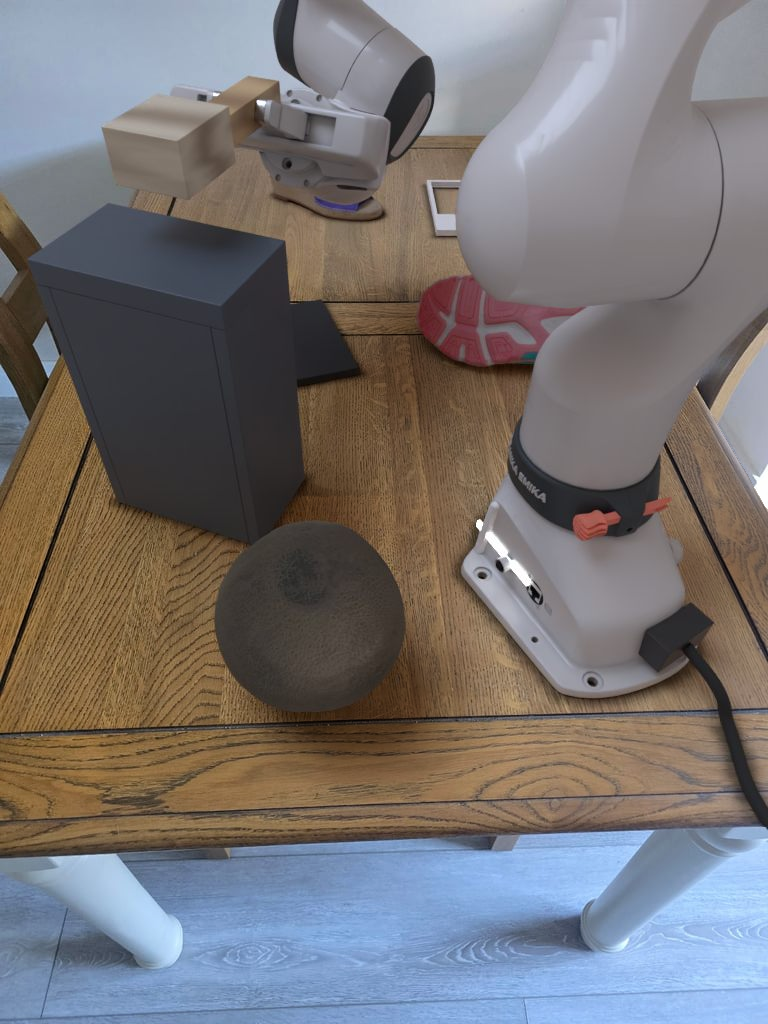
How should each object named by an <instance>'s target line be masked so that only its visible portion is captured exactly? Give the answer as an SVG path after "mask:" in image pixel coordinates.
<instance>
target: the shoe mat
mask: <svg viewBox="0 0 768 1024" xmlns="http://www.w3.org/2000/svg"><path fill="white" fill-rule="evenodd" d="M290 304H291V317H292V329H293V341H294V354H295V366H296V379H297V387H300V386H306V385H311V384H315V383H321V382H326V381H330V380H332V381H333V380H336V379H342V378H348V377H352V376H356V375H357V376H358V375H359V369H360V368H359V366H358V364H357V362H356V361H355V359H354V357H353V354H352V353H351V351H350V350H349V347H348V346H347V343H346V342H345V340H344V338H343V337H342V334H341V332H340V330H339V329H338V327H337V325H336V324H335V321H334V320H333V318H332V316H331V314H330V313H329V311H328V308H327V307H326V305H325V303H324V301H323V299H322V298H319V299H314V300H308V301H301V302H296V303H290Z"/></svg>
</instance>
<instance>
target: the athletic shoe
mask: <svg viewBox="0 0 768 1024" xmlns="http://www.w3.org/2000/svg"><path fill="white" fill-rule="evenodd" d="M587 307H588V306H587ZM585 308H586V307H578V308H568V309H564V308H553V307H542V306H532V305H524V304H517V303H510V302H503V301H497V300H495V299H493V298H492V297H491V296H489V295H488V294H487V293H486V292H485V291H484V290H483V289H482V288H481V287H480V285H479V284H478V283H477V282H476V280H475V279H474V278H473V276H472V274H463V275H461V274H460V275H458V274H457V275H451V276H448V277H444V278H439V279H437V280H436V281H435V282H434V283H432V284H431V285H429V286H428V287H426V289H425V290H424V291H423V293H422V294H421V296H420V299H419V303H418V308H417V310H416V313H415V321H414V322H415V325H416V326H417V327H418V329H419V330H420V332H421V334H422V335H423V336H424V337H425V339H427V340H428V341H429V342H430V343H431V344H432V345H433V346H434V347H435V348H437V349H438V350H439V351H440V352H441V353H442V354H444V355H445V356H446V357H448V358H449V359H451V360H453V361H456V362H463V363H465V364H466V365H469V366H473V367H479V368H481V367H482V368H483V367H490V366H493V365H504V364H524V365H526V364H528V365H534V364H535V360H536V357H537V355H538V352H539V350H540V349H541V347H542V345H543V344H544V342H545V341H546V339H547V338H548V337H549V335H550V334H551V333H552V332H553V331H554V330H555V329H556V328H557V327H558V326H559V325H561V324H562V323H563V322H565V321H566V320H567V319H569V318H570V317H572V316H573V315H575V314H577V313H578V312H580V311H581V310H583V309H585Z"/></svg>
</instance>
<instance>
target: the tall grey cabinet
mask: <svg viewBox="0 0 768 1024" xmlns="http://www.w3.org/2000/svg"><path fill="white" fill-rule="evenodd" d="M26 261H27V263H28V267H29V269H30V273H31V274H32V277H33V280H34V283H35V285H36V288H37V290H38V293H39V296H40V299H41V301H42V304H43V306H44V309H45V312H46V314H47V317H48V320H49V323H50V325H51V328H52V330H53V333H54V335H55V339H56V341H57V344H58V347H59V349H60V352H61V356H62V358H63V360H64V363H65V365H66V368H67V371H68V374H69V376H70V379H71V381H72V385H73V387H74V390H75V392H76V395H77V397H78V401H79V403H80V405H81V408H82V411H83V414H84V416H85V419H86V421H87V422H86V423H87V424H88V427H89V430H90V432H91V435H92V438H93V440H94V443H95V446H96V448H97V450H98V454H99V456H100V459H101V461H102V465H103V468H104V470H105V473H106V475H107V478H108V481H109V484H110V486H111V488H112V491H113V494H114V496H115V499H116V502H117V503H120V504H123V505H126V506H129V507H133V508H135V509H139V510H142V511H145V512H148V513H151V514H155V515H157V516H160V517H164V518H166V519H170V520H174V521H177V522H180V523H182V524H185V525H189V526H192V527H195V528H198V529H202V530H205V531H207V532H211V533H214V534H217V535H220V536H223V537H227V538H230V539H232V540H236V541H239V542H242V543H246V544H248V545H249V544H250V546H252V545H253V544H255V543H256V542H257V541H258V540H259V539H261V538H262V537H264V536H266V535H267V534H269V533H270V532H271V531H273V530H274V527H275V526H276V524H277V523H278V522H279V520H280V518H281V516H282V515H283V513H284V512H285V510H286V509H287V507H288V505H289V504H290V502H291V500H292V499H293V497H294V496H295V495H296V493H297V491H298V490H299V488H300V487H301V486H302V484H303V482H304V480H305V478H306V477H305V466H304V454H303V441H302V430H301V416H300V405H299V393H298V392H299V391H298V386H297V379H296V366H295V354H294V341H293V329H292V317H291V304H292V303H291V293H290V292H291V291H290V282H289V281H290V280H289V269H288V268H289V267H288V255H287V244H286V240H284V239H281V238H276V237H275V238H274V237H270V236H267V235H261V234H258V233H257V234H256V233H253V232H252V233H251V232H246V231H242V230H237V229H232V228H227V227H223V226H219V225H214V224H210V223H205V222H200V221H195V220H190V219H186V218H181V217H177V216H172V215H167V214H162V213H159V212H158V213H157V212H153V211H148V210H144V209H139V208H134V207H129V206H125V205H120V204H115V203H111V202H108V203H106V204H105V205H103V206H102V207H100V208H99V209H97V210H96V211H94V212H93V213H92V214H90V215H89V216H87V217H85V218H84V219H83V220H81V221H80V222H79V223H77V224H75V225H74V226H73V227H71V228H70V229H68V230H67V231H65V232H64V233H63V234H61V235H60V236H58V237H57V238H56V239H54V240H52V241H51V242H49V243H48V244H47V245H45V246H43V248H41V249H39V250H37V252H35V253H34V254H32V255H30V257H28V258H27V259H26Z"/></svg>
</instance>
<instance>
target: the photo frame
mask: <svg viewBox="0 0 768 1024" xmlns="http://www.w3.org/2000/svg"><path fill="white" fill-rule="evenodd" d="M461 180H462V179H426V185H425V186H426V190H427V195H428V200H429V206H430V212H431V215H432V221H433V226H434V231H435V236H436V237H457V233H456V217H455V213H438V209H437V203H436V200H435V194H434V190H433V188H459V186H460V183H461Z"/></svg>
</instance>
